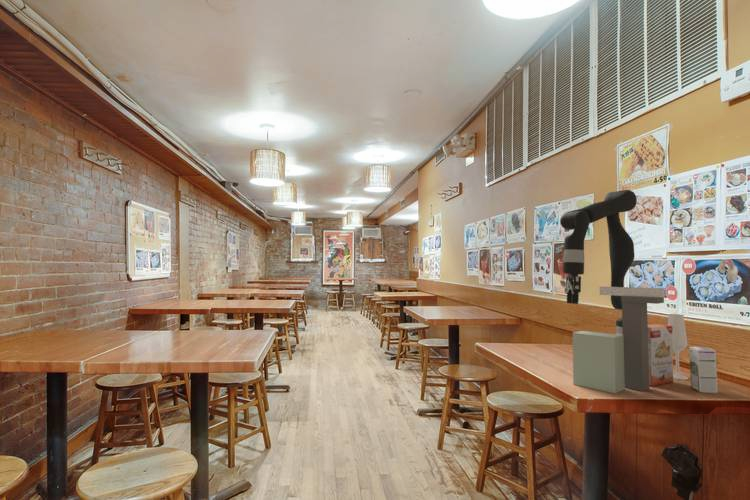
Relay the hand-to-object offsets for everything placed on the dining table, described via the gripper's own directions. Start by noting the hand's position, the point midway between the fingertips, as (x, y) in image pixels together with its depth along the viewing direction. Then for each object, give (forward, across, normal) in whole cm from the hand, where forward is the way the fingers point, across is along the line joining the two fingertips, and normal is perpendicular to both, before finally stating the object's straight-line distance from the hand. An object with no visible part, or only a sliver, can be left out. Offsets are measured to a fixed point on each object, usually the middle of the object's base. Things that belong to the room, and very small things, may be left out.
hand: (572, 303), depth 164 cm
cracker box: (+27, 0, -29) cm, 40 cm away
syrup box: (+27, -8, -41) cm, 49 cm away
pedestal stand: (+28, -11, -21) cm, 37 cm away
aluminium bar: (-4, -11, -17) cm, 20 cm away
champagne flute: (+26, +11, -41) cm, 49 cm away
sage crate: (+28, -12, -7) cm, 31 cm away
